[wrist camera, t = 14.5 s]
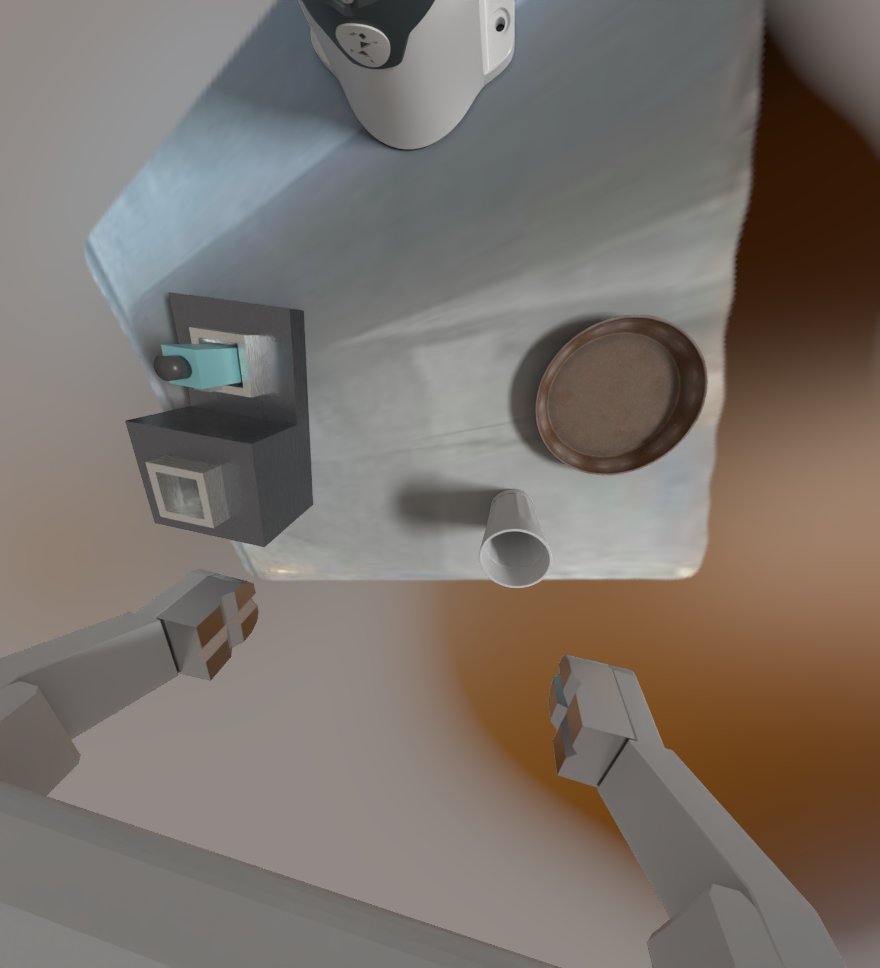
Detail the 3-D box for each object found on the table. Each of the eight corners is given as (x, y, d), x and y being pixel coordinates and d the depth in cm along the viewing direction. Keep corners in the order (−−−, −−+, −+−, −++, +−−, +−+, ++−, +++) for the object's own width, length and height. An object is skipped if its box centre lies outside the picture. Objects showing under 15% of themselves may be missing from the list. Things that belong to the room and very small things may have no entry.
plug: (219, 343, 42) (142, 345, 33) (248, 347, 42) (177, 350, 33) (225, 381, 44) (153, 393, 35) (252, 386, 44) (187, 399, 35)
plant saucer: (691, 454, 41) (704, 462, 38) (542, 477, 45) (545, 486, 42) (696, 295, 34) (713, 291, 32) (523, 340, 39) (524, 340, 36)
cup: (516, 542, 50) (519, 599, 39) (473, 512, 49) (465, 562, 38) (553, 505, 46) (568, 557, 35) (508, 473, 45) (509, 515, 35)
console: (189, 295, 43) (53, 277, 30) (303, 310, 41) (211, 298, 28) (223, 486, 55) (136, 532, 42) (312, 504, 53) (251, 558, 40)
